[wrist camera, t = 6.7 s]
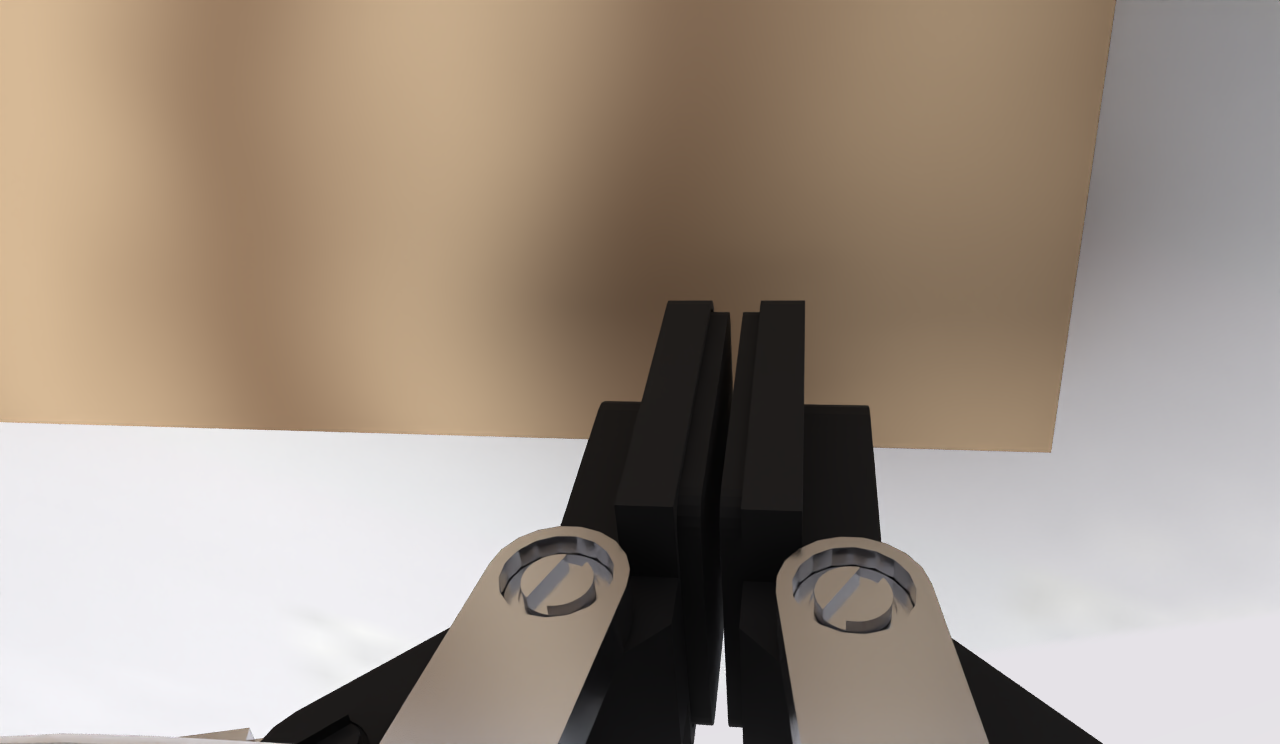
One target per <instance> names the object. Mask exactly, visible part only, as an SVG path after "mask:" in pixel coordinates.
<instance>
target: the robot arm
mask: <svg viewBox="0 0 1280 744" xmlns="http://www.w3.org/2000/svg"><path fill="white" fill-rule="evenodd" d="M804 374H805V300H761V303H760V312H743V316H742V324H741V332H740V340H739V348H738V356H737V364H736V372H735V380H734V389H733V376H732V347H731V320H730V312H714V305H713V301H712V300H686V301H668V303H667V305H666V309H665V313H664V317H663V321H662V325H661V328H660V332H659V336H658V340H657V344H656V348H655V351H654V355H653V359H652V363H651V367H650V370H649V374H648V378H647V382H646V386H645V390H644V393H643V397H642V401H641V402H637V401H604V402H602V403H601V405H600V407H599V409H598V412H597V415H596V418H595V421H594V424H593V427H592V430H591V433H590V437H589V440H588V443H587V446H586V449H585V452H584V455H583V458H582V461H581V464H580V468H579V471H578V474H577V477H576V480H575V483H574V486H573V489H572V492H571V495H570V498H569V502H568V505H567V508H566V511H565V514H564V517H563V520H562V523H561V526H559V527H553V528H547V529H541V530H537V531H535V532H532V533H530V534H527V535H525V536H522V537H520V538H518V539H516V540H515V541H513V542H512V543H510V544H509V545H507V546H506V547H504V548H503V549H501V551H500V552H499V553H498V554H497V555H496V556H495V558H494V559H493V560H492V561H491V562H490V563H489V565H488V567H487V568H486V570H485V571H484V573H483V575H482V576H481V578H480V580H479V581H478V583H477V585H476V586H475V588H474V589H473V591H472V593H471V594H470V596H469V598H468V599H467V601H466V603H465V604H464V606H463V607H462V609H461V611H460V612H459V614H458V616H457V617H456V619H455V621H454V622H453V624H452V625H451V627H450V628H448V629H446V630H445V631H443V632H441V633H439V634H437V635H435V636H434V637H432V638H430V639H428V640H426V641H424V642H423V643H421V644H419V645H417V646H415V647H414V648H412V649H410V650H408V651H406V652H404V653H403V654H401V655H399V656H397V657H395V658H393V659H392V660H390V661H388V662H386V663H384V664H382V665H381V666H379V667H377V668H375V669H373V670H371V671H370V672H368V673H366V674H364V675H362V676H360V677H359V678H357V679H355V680H353V681H351V682H349V683H348V684H346V685H344V686H342V687H340V688H338V689H337V690H335V691H333V692H331V693H329V694H327V695H326V696H324V697H322V698H320V699H318V700H317V701H315V702H313V703H311V704H309V705H307V706H306V707H304V708H302V709H300V710H298V711H296V712H295V713H293V714H292V715H291V716H289V717H288V718H286V719H285V720H283V721H282V722H280V723H279V724H277V725H276V726H275V727H273V729H272V730H271V731H270V732H269V733H268V734H267V735H266V736H265V737H264V738H261V739H254V737H253V735H252V732H251V730H250V728H244V729H237V730H229V731H221V732H213V733H206V734H198V735H190V736H183V737H161V736H140V735H103V734H64V733H62V734H42V735H23V736H4V737H0V744H694V736H695V728H696V724H699V725H713V724H714V719H715V710H716V701H717V691H718V681H719V671H720V661H721V651H722V641H723V631H724V642H725V663H726V685H727V705H728V724H729V727H742V728H743V744H1103V743H1101V742H1100V741H1098V740H1097V739H1095V738H1094V737H1093V736H1091V735H1090V734H1088V733H1087V732H1085V731H1084V730H1083V729H1081V728H1080V727H1078V726H1077V725H1075V724H1074V723H1073V722H1071V721H1070V720H1068V719H1067V718H1065V717H1064V716H1062V715H1061V714H1060V713H1058V712H1057V711H1055V710H1054V709H1052V708H1051V707H1049V706H1048V705H1047V704H1045V703H1044V702H1042V701H1041V700H1040V699H1038V698H1037V697H1035V696H1034V695H1032V694H1031V693H1030V692H1028V691H1027V690H1025V689H1024V688H1022V687H1021V686H1020V685H1018V684H1017V683H1015V682H1014V681H1012V680H1011V679H1010V678H1008V677H1007V676H1005V675H1004V674H1002V673H1001V672H1000V671H998V670H996V669H995V668H994V667H992V666H991V665H989V664H988V663H987V662H985V661H984V660H982V659H981V658H979V657H978V656H977V655H975V654H974V653H972V652H971V651H969V650H968V649H967V648H965V647H964V646H962V645H961V644H959V643H958V642H957V641H955V640H954V639H952V638H951V636H950V633H949V630H948V627H947V625H946V622H945V619H944V616H943V613H942V611H941V608H940V605H939V602H938V599H937V597H936V594H935V591H934V588H933V586H932V583H931V581H930V580H929V578H928V576H927V575H926V573H925V571H924V570H923V568H922V567H921V566H920V565H919V564H918V563H917V562H915V561H914V560H913V559H912V558H911V557H910V556H909V555H907V554H906V553H904V552H902V551H900V550H898V549H896V548H894V547H892V546H890V545H888V544H886V543H882V542H881V534H880V522H879V510H878V498H877V487H876V475H875V463H874V451H873V440H872V428H871V416H870V408H869V406H868V405H819V404H804Z"/></svg>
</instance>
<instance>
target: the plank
mask: <svg viewBox="0 0 1280 744" xmlns="http://www.w3.org/2000/svg"><path fill="white" fill-rule="evenodd" d="M1115 4H1116V0H0V422H15V423H50V424H84V425H119V426H153V427H188V428H222V429H257V430H291V431H325V432H360V433H394V434H429V435H463V436H498V437H532V438H567V439H589V437H590V433H591V430H592V427H593V424H594V421H595V418H596V415H597V412H598V409H599V407H600V405H601V403H602V402H604V401H637V402H641V401H642V397H643V393H644V390H645V386H646V382H647V378H648V374H649V370H650V367H651V363H652V359H653V355H654V351H655V348H656V344H657V340H658V336H659V332H660V328H661V325H662V321H663V317H664V313H665V309H666V305H667V303H668V301H686V300H712V301H713V305H714V312H730V320H731V347H732V376H733V389H734V380H735V372H736V364H737V356H738V348H739V340H740V332H741V324H742V316H743V312H760V303H761V300H805V374H804V404H819V405H868V406H869V408H870V416H871V428H872V440H873V447H877V448H911V449H945V450H980V451H1014V452H1049V453H1051V449H1052V442H1053V435H1054V428H1055V421H1056V414H1057V407H1058V400H1059V393H1060V386H1061V379H1062V372H1063V365H1064V358H1065V351H1066V344H1067V337H1068V330H1069V324H1070V317H1071V310H1072V303H1073V296H1074V289H1075V282H1076V275H1077V268H1078V261H1079V254H1080V247H1081V240H1082V233H1083V226H1084V219H1085V212H1086V206H1087V199H1088V192H1089V185H1090V178H1091V171H1092V164H1093V157H1094V150H1095V143H1096V136H1097V129H1098V122H1099V115H1100V108H1101V101H1102V94H1103V88H1104V81H1105V74H1106V67H1107V60H1108V53H1109V46H1110V39H1111V32H1112V25H1113V18H1114V11H1115Z"/></svg>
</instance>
